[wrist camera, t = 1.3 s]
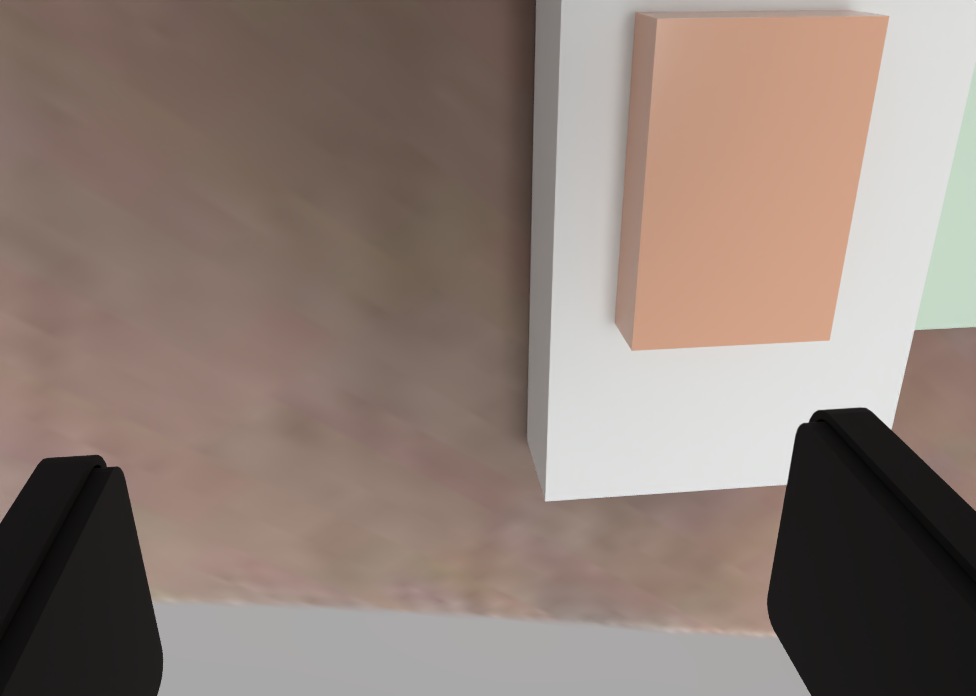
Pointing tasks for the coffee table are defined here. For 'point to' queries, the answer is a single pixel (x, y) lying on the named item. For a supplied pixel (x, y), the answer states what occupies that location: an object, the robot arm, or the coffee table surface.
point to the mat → (955, 238)
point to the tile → (742, 173)
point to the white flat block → (720, 369)
